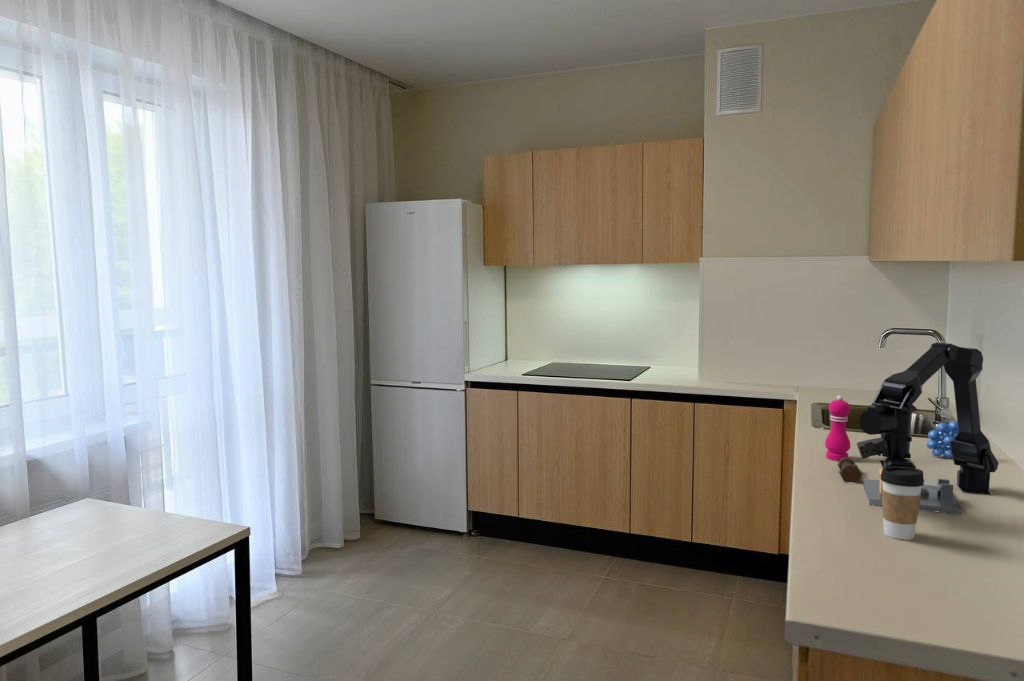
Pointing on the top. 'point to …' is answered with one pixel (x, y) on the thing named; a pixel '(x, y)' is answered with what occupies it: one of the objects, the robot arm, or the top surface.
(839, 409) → the pepper mill
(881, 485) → the block
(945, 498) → the base
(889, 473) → the coffee cup
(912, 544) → the top surface
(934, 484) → the strap
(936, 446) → the grapes
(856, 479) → the bolt
